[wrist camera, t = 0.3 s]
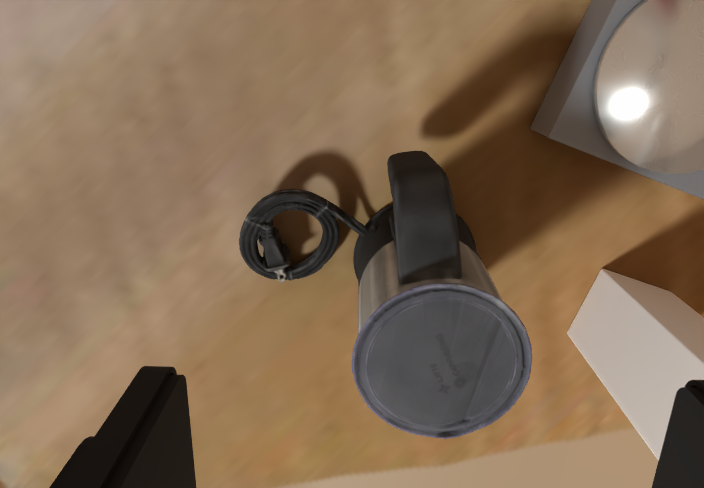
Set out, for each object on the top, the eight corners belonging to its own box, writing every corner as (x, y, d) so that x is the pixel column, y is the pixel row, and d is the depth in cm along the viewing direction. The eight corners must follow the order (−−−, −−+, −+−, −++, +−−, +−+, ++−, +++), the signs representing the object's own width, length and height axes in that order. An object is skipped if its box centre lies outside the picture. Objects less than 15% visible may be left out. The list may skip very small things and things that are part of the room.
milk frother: (493, 287, 43) (558, 404, 29) (310, 360, 45) (287, 502, 31) (422, 116, 38) (459, 157, 24) (224, 207, 41) (154, 292, 27)
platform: (608, -22, 31) (614, -24, 31) (803, -20, 31) (814, -21, 30) (579, 170, 35) (584, 172, 34) (753, 172, 35) (762, 175, 34)
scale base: (659, -142, 33) (702, -168, 29) (829, -62, 34) (893, -76, 30) (529, 128, 38) (550, 138, 34) (680, 188, 40) (717, 205, 36)
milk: (600, 266, 42) (837, 480, 21) (672, 291, 43) (970, 522, 22) (565, 334, 44) (749, 590, 23) (633, 356, 44) (873, 626, 24)
